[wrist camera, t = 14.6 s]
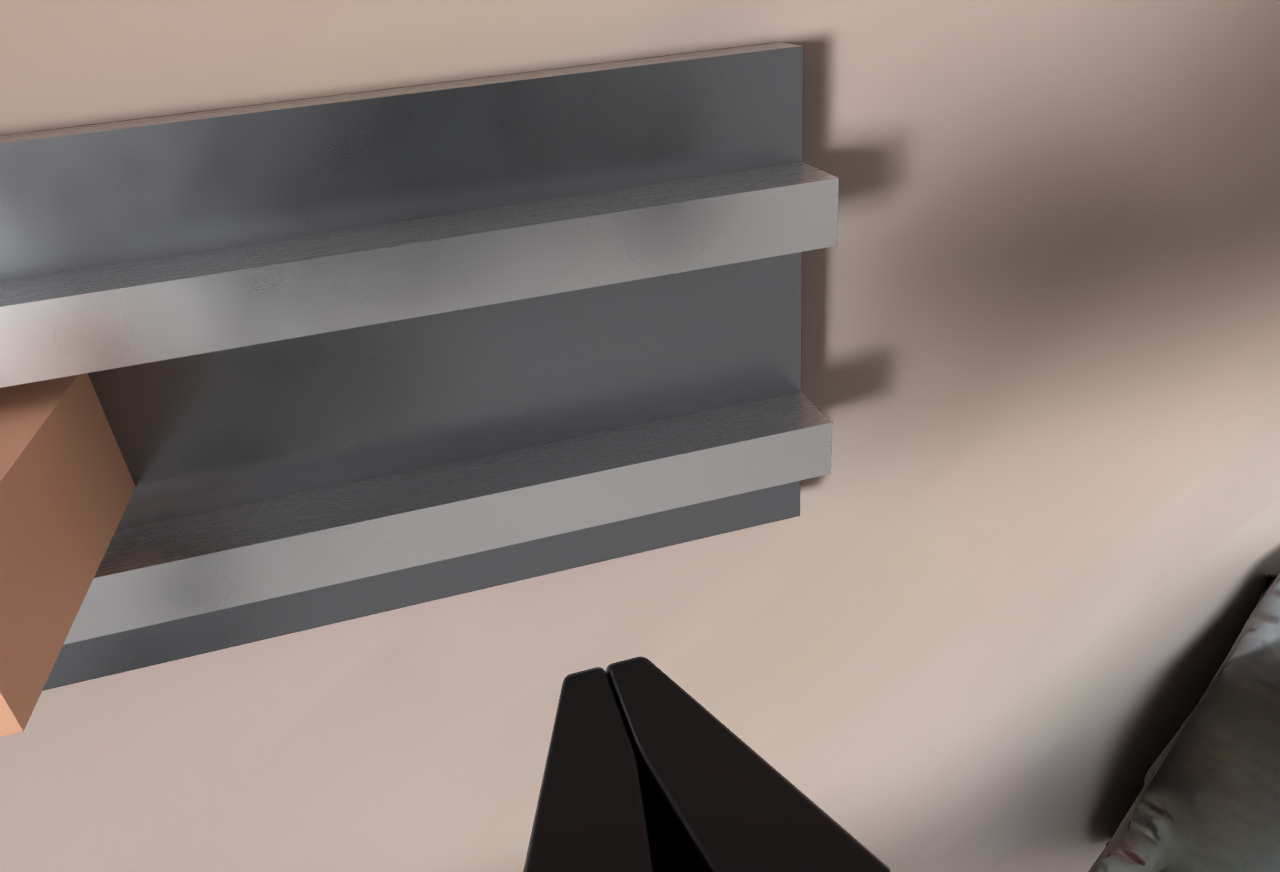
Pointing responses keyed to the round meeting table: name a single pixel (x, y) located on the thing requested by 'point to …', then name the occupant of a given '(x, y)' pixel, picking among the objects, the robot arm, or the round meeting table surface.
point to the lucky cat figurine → (1216, 770)
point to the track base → (420, 336)
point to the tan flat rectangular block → (50, 525)
